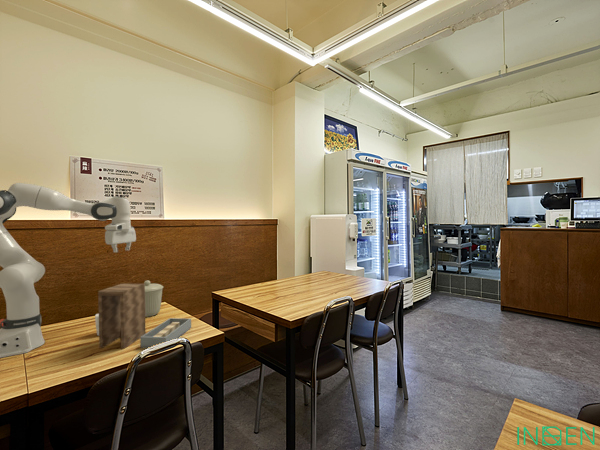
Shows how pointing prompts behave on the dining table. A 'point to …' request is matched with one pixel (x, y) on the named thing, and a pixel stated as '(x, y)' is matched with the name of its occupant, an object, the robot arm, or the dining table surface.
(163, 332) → the bar
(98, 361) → the dining table surface
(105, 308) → the zigzag patterned arch
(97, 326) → the white cup
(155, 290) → the canister
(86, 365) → the dining table surface
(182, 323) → the tray
